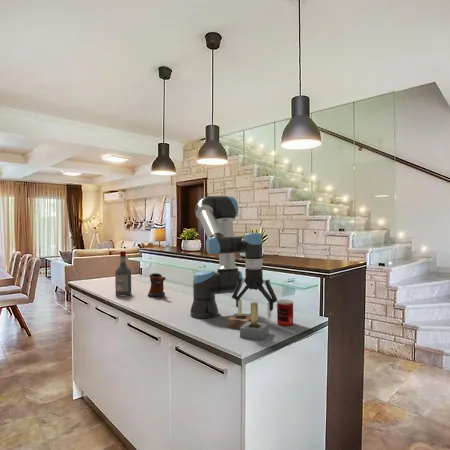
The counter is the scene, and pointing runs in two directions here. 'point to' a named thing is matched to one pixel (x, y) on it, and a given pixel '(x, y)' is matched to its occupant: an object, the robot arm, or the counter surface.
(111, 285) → the counter surface
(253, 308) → the lock pin
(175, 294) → the counter surface
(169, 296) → the counter surface
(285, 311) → the canned food
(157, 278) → the mug
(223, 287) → the robot arm
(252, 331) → the socket block
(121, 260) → the liquor
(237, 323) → the block
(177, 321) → the counter surface
